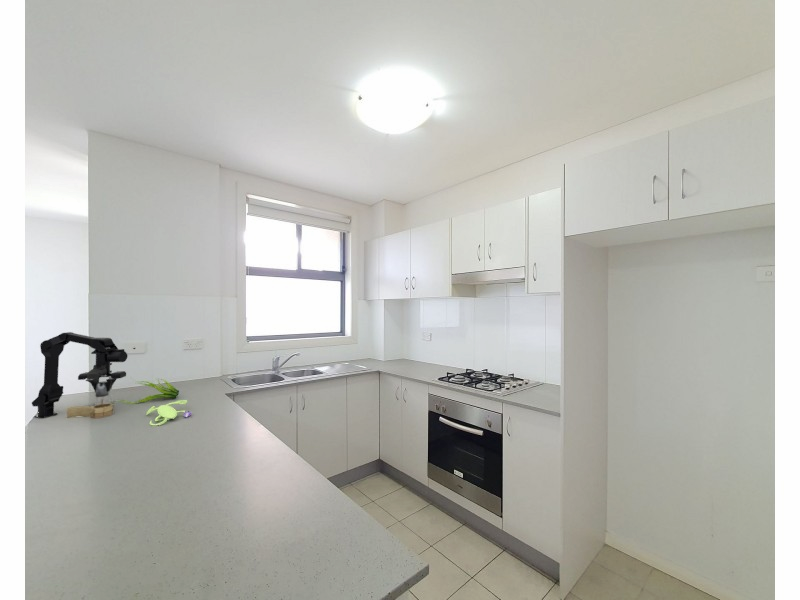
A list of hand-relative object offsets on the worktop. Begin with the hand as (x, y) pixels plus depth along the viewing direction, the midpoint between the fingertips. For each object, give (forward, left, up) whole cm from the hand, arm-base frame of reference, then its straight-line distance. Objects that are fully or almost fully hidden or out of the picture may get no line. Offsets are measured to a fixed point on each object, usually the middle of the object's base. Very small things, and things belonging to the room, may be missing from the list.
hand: (102, 391), depth 170 cm
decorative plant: (-2, +24, -13) cm, 28 cm away
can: (-20, +12, -13) cm, 27 cm away
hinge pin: (0, 0, -2) cm, 2 cm away
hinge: (-5, 0, -12) cm, 13 cm away
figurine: (+33, +11, -13) cm, 37 cm away
